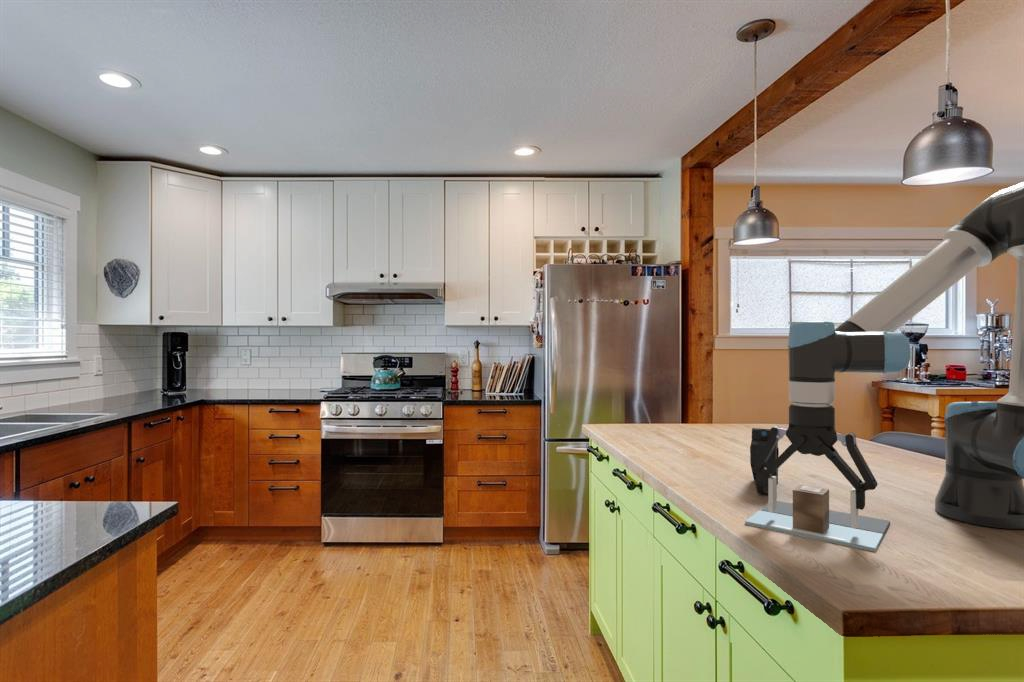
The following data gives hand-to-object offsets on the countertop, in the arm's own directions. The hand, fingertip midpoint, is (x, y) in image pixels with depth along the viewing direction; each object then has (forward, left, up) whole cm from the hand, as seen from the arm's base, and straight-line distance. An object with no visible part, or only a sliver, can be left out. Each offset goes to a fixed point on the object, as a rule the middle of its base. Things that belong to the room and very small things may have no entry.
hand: (811, 518), depth 101 cm
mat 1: (0, -10, -2) cm, 10 cm away
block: (0, 0, -2) cm, 2 cm away
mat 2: (0, 0, -2) cm, 2 cm away
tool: (+16, -27, -2) cm, 31 cm away
